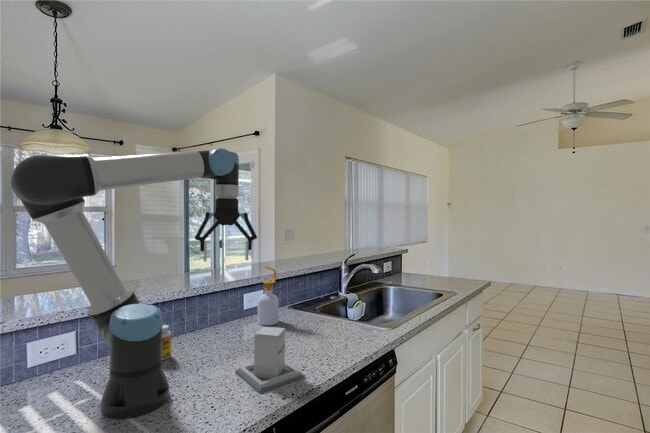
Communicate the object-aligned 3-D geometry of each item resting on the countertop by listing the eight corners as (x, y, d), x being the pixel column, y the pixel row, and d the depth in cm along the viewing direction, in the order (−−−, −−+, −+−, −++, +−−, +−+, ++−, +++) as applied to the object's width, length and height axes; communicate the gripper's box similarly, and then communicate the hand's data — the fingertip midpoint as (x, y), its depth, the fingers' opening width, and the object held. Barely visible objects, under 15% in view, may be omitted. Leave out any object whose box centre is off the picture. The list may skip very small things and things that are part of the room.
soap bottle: (256, 320, 155) (257, 265, 155) (276, 318, 158) (277, 264, 158) (258, 326, 147) (259, 268, 146) (280, 324, 149) (280, 267, 149)
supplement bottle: (152, 362, 111) (152, 330, 111) (152, 355, 116) (152, 325, 116) (171, 359, 114) (172, 328, 113) (170, 352, 119) (170, 323, 118)
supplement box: (277, 380, 100) (278, 336, 99) (253, 377, 101) (253, 333, 101) (285, 368, 107) (286, 327, 107) (262, 366, 108) (263, 325, 108)
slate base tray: (259, 393, 93) (259, 386, 93) (235, 372, 105) (235, 366, 105) (304, 377, 103) (304, 371, 103) (278, 359, 114) (278, 354, 114)
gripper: (262, 199, 126) (261, 257, 126) (188, 197, 118) (187, 259, 118) (265, 198, 119) (264, 260, 119) (187, 196, 111) (186, 263, 111)
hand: (226, 260), depth 119 cm, fingers open, 13 cm apart
